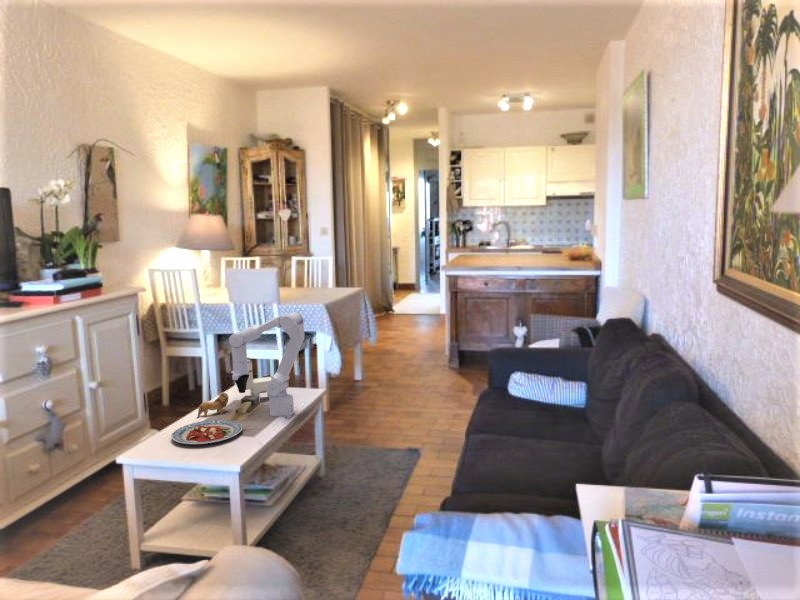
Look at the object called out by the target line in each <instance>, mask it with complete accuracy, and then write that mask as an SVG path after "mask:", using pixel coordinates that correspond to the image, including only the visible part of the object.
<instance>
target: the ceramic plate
mask: <svg viewBox="0 0 800 600" xmlns="http://www.w3.org/2000/svg"><path fill="white" fill-rule="evenodd" d="M221 427H224V428H221ZM242 430H243V425H242V424H241V423H239V422H237V421H229V420H224V419H211V420H204V421H203V420H202V421H197V422H193V423H189V424H186V425H183V426H180V427H179V428H177V429H175V430H174V431H173V432H172V433H171V436H170V437H171V439H172V440H173V441H174V442H177V443H179V444H185V445H207V444H208V443H209V444H212V443H213V444H214V443H218V442H222V441H224V440H228V439H231V438H233V437H235V436H237V435H239V434H240V433H241V432H242Z"/></svg>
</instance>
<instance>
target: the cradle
mask: <svg viewBox="0 0 800 600" xmlns="http://www.w3.org/2000/svg"><path fill="white" fill-rule="evenodd" d="M240 401H241V402H240V403H241V405H242V404H243V403H244V402H245V401H253V406H252V407H251V408H250V409H248V411H247V412H246V413H245V414H238V407H236V409H235V410H233V411H232V412H231V413H230V414H229V415H228V416H226V417H225V418H224V419H223V420H229V421H234V422H237V421H239V422H240V421H242V422H244V421H246V420H247V419H248V418H249V417H250V416H252V415H253V413H254V412H256V411H257V410H258V409H259V408H260V407H261V406H262V405H263V403H259V396H251V395H244V396H243V397H242V398H241V399H240Z"/></svg>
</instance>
